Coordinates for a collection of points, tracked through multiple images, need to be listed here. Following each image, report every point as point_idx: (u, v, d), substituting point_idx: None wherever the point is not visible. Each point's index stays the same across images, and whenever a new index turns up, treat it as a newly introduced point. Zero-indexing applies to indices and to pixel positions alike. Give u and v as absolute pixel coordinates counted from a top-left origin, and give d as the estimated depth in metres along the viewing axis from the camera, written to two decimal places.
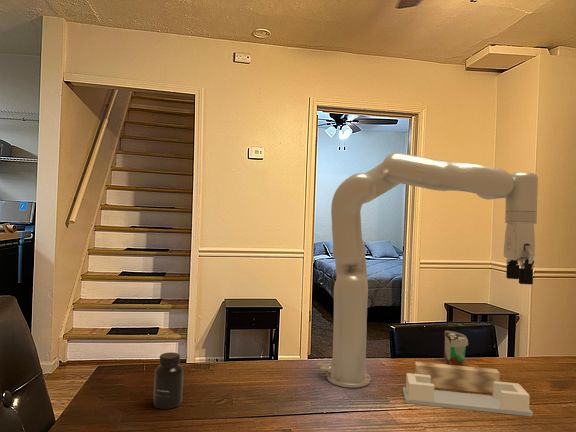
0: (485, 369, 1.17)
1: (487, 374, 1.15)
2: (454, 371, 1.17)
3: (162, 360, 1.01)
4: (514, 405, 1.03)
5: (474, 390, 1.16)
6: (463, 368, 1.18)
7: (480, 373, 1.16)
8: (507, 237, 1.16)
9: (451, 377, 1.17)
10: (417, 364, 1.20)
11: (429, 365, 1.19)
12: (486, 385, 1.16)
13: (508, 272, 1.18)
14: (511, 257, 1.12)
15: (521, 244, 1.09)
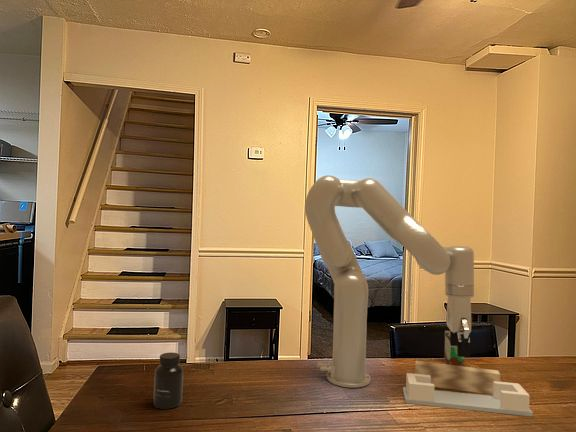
0: (485, 370, 1.17)
1: (487, 375, 1.15)
2: (454, 371, 1.17)
3: (162, 360, 1.01)
4: (514, 405, 1.03)
5: (474, 391, 1.16)
6: (463, 368, 1.18)
7: (480, 373, 1.15)
8: (448, 308, 1.20)
9: (450, 377, 1.17)
10: (417, 363, 1.21)
11: (429, 364, 1.20)
12: (486, 385, 1.15)
13: (451, 339, 1.23)
14: (450, 329, 1.17)
15: (458, 318, 1.14)
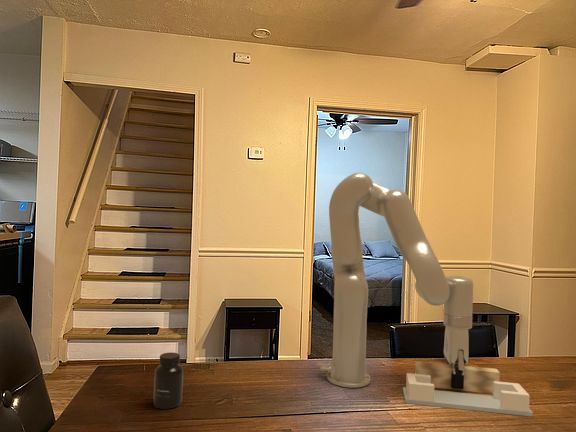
0: (485, 369, 1.17)
1: (487, 374, 1.15)
2: None
3: (162, 360, 1.01)
4: (514, 405, 1.03)
5: (474, 390, 1.16)
6: None
7: (480, 372, 1.16)
8: (445, 337, 1.20)
9: None
10: (417, 364, 1.20)
11: (429, 365, 1.19)
12: (486, 384, 1.16)
13: None
14: (447, 359, 1.17)
15: (455, 350, 1.14)
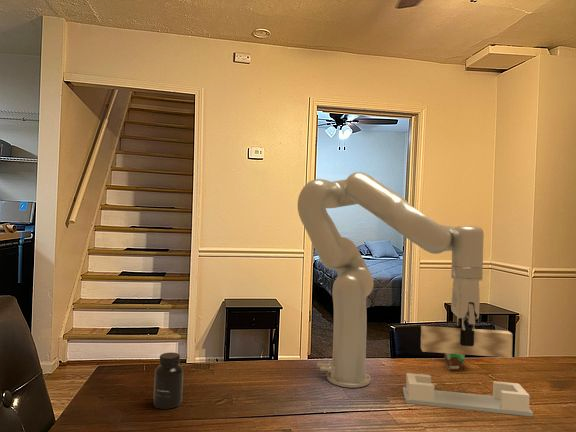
0: (496, 331, 1.09)
1: (499, 336, 1.07)
2: None
3: (162, 360, 1.01)
4: (514, 405, 1.03)
5: (485, 353, 1.08)
6: None
7: (492, 334, 1.07)
8: (453, 292, 1.11)
9: None
10: (423, 328, 1.11)
11: (436, 328, 1.10)
12: (498, 347, 1.07)
13: None
14: (456, 314, 1.08)
15: (465, 302, 1.05)
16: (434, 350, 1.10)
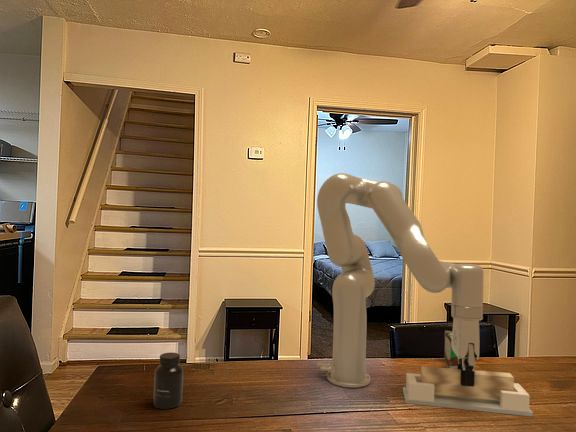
0: (497, 373, 1.07)
1: (500, 379, 1.06)
2: None
3: (162, 360, 1.01)
4: (514, 405, 1.03)
5: (486, 396, 1.06)
6: None
7: (493, 377, 1.06)
8: (454, 330, 1.10)
9: (460, 383, 1.07)
10: (423, 369, 1.10)
11: (436, 370, 1.09)
12: (499, 390, 1.06)
13: None
14: (456, 354, 1.07)
15: (465, 343, 1.04)
16: (434, 392, 1.08)
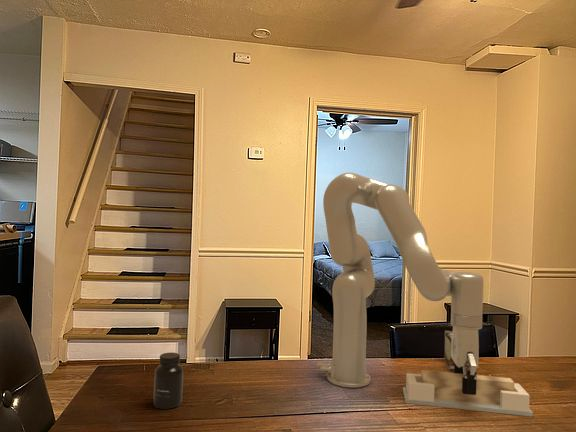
0: (498, 378, 1.07)
1: (501, 384, 1.06)
2: None
3: (162, 360, 1.01)
4: (514, 405, 1.03)
5: (486, 401, 1.06)
6: None
7: (493, 382, 1.06)
8: (453, 338, 1.10)
9: (461, 387, 1.07)
10: (424, 373, 1.10)
11: (437, 374, 1.09)
12: None
13: (455, 372, 1.13)
14: (455, 363, 1.07)
15: (464, 352, 1.04)
16: (434, 396, 1.08)
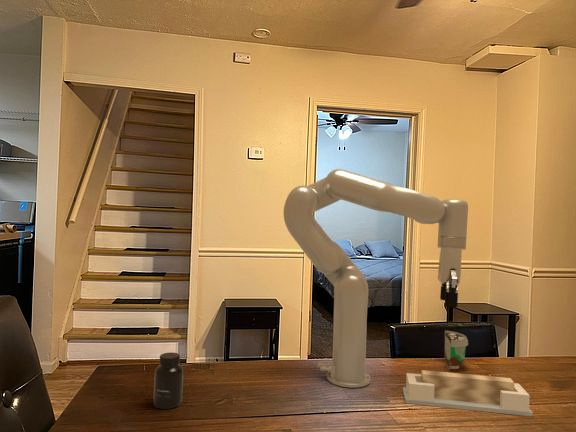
0: (498, 378, 1.07)
1: (501, 384, 1.06)
2: (465, 381, 1.07)
3: (162, 360, 1.01)
4: (514, 405, 1.03)
5: (486, 401, 1.06)
6: (474, 377, 1.08)
7: (493, 382, 1.06)
8: (439, 260, 1.21)
9: (461, 387, 1.07)
10: (424, 373, 1.10)
11: (437, 374, 1.09)
12: None
13: (441, 294, 1.24)
14: (440, 280, 1.17)
15: (447, 268, 1.14)
16: (434, 396, 1.08)
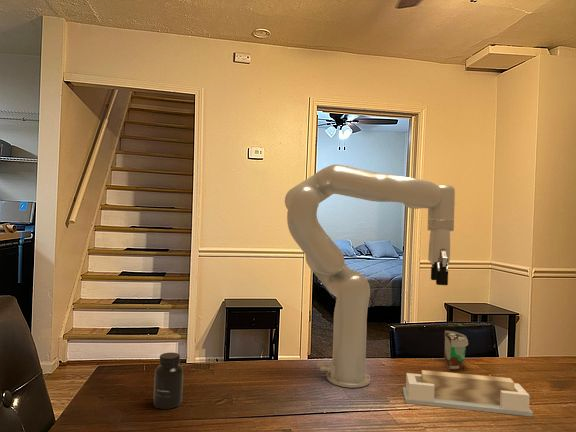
0: (498, 378, 1.07)
1: (501, 384, 1.06)
2: (465, 381, 1.07)
3: (162, 360, 1.01)
4: (514, 405, 1.03)
5: (486, 401, 1.06)
6: (474, 377, 1.08)
7: (493, 382, 1.06)
8: (429, 243, 1.29)
9: (461, 387, 1.07)
10: (424, 373, 1.10)
11: (437, 374, 1.09)
12: None
13: (432, 274, 1.32)
14: (431, 261, 1.25)
15: (438, 249, 1.22)
16: (434, 396, 1.08)
